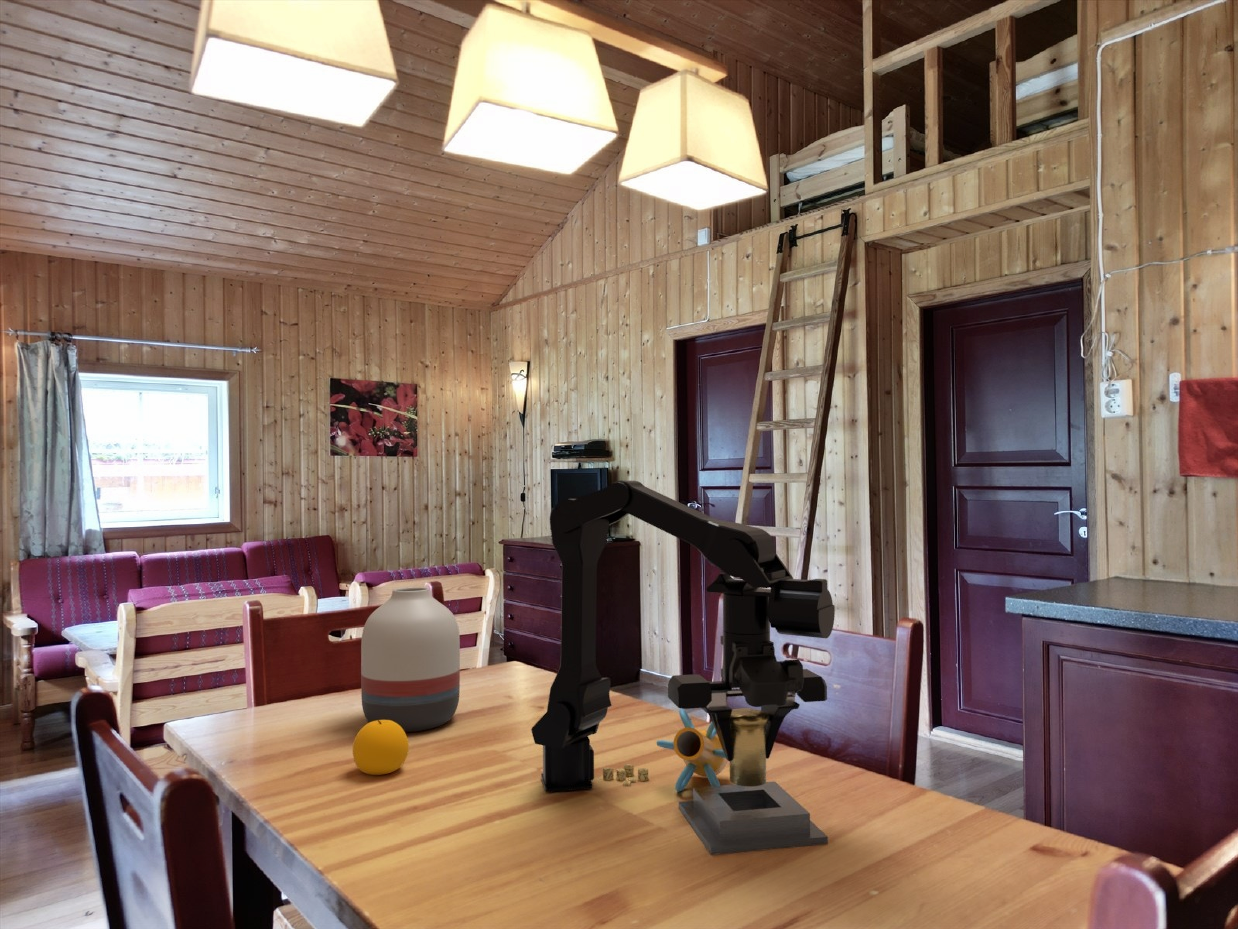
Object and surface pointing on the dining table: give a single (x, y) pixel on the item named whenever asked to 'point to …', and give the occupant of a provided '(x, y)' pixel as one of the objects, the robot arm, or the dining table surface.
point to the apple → (380, 747)
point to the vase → (410, 661)
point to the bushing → (748, 747)
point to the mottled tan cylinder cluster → (625, 774)
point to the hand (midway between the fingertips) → (747, 759)
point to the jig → (749, 819)
